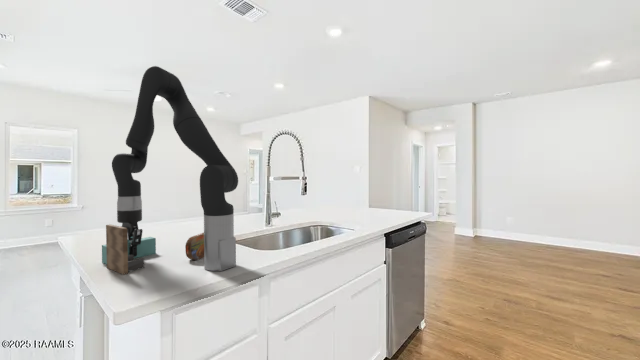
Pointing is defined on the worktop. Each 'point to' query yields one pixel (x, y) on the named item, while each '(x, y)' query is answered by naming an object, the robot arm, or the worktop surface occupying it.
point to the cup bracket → (120, 251)
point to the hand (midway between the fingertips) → (130, 255)
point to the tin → (195, 247)
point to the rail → (142, 249)
